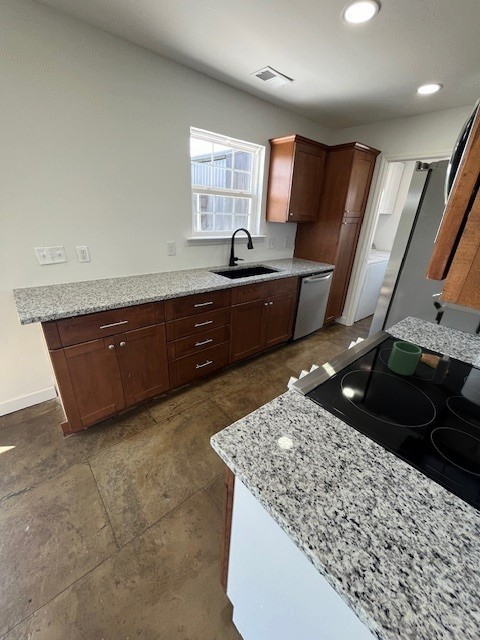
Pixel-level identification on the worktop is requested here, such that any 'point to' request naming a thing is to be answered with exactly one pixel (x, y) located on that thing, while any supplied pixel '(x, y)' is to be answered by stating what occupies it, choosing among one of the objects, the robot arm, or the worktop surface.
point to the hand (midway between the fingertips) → (456, 327)
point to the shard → (430, 360)
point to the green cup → (404, 358)
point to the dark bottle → (441, 369)
